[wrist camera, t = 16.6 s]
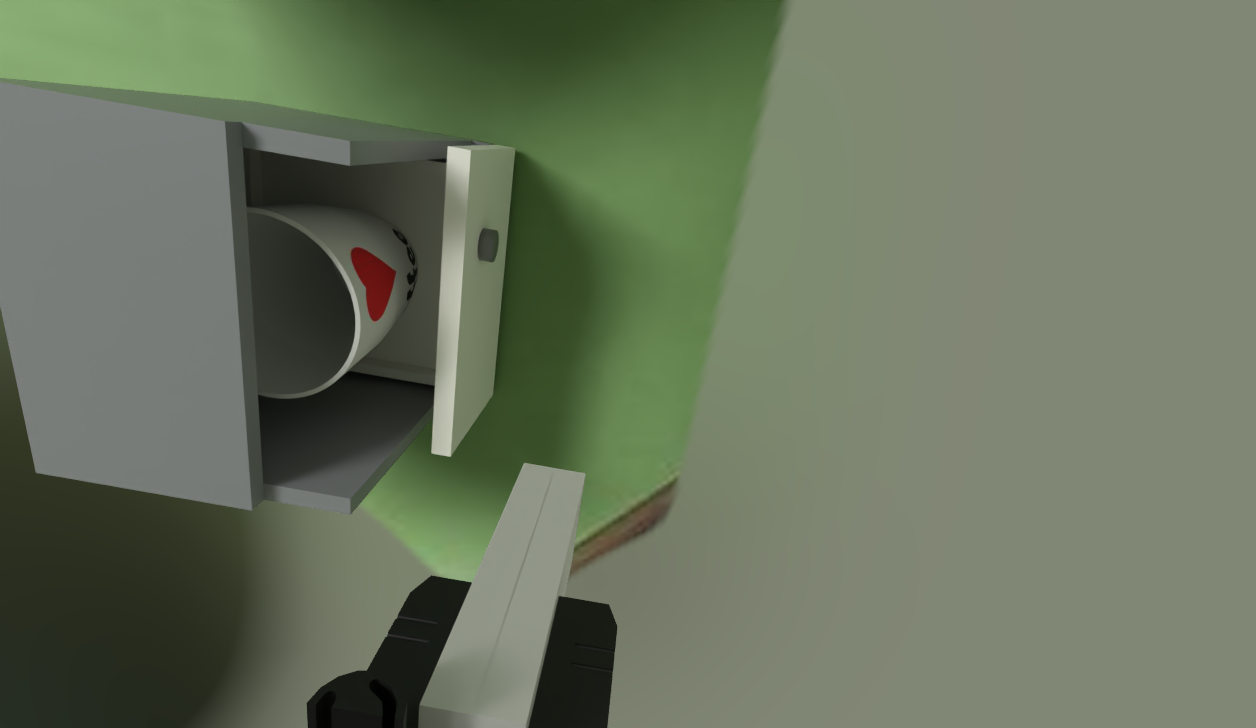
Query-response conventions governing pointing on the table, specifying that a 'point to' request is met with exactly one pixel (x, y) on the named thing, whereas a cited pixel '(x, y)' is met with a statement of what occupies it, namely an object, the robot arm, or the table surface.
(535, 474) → the robot arm
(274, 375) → the cup
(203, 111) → the housing
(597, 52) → the table surface
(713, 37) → the table surface
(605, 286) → the table surface
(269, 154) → the white drawer
